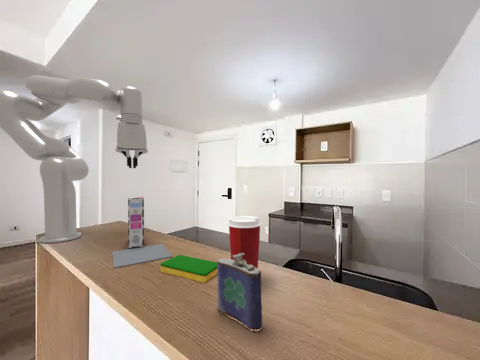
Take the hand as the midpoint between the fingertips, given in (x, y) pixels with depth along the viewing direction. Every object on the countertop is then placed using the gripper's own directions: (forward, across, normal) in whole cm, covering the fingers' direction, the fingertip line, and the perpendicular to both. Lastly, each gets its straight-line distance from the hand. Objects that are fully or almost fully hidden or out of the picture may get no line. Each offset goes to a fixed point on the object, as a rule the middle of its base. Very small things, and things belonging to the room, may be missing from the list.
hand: (132, 167), depth 86 cm
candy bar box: (+27, 0, -11) cm, 29 cm away
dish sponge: (+28, +9, -42) cm, 51 cm away
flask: (+27, +10, -64) cm, 70 cm away
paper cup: (+27, +18, -53) cm, 62 cm away
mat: (+27, 0, -23) cm, 36 cm away
